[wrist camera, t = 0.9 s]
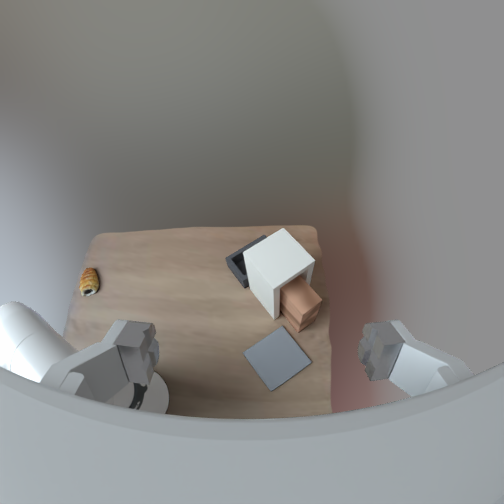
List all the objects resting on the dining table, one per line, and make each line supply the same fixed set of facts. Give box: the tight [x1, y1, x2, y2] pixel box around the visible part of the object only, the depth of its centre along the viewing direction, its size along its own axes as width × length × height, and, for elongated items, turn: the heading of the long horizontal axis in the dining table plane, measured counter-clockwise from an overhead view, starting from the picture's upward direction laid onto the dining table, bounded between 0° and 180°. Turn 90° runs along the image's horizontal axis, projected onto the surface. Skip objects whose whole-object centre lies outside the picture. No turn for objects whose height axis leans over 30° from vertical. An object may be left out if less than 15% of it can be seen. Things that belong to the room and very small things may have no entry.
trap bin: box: [226, 235, 267, 288], centre depth 70 cm, size 12×8×4 cm, turn 124°
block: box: [279, 275, 322, 333], centre depth 58 cm, size 5×10×12 cm, turn 34°
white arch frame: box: [243, 228, 315, 319], centre depth 60 cm, size 10×10×16 cm
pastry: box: [79, 268, 99, 296], centre depth 71 cm, size 9×7×4 cm
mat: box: [243, 326, 311, 391], centre depth 57 cm, size 11×11×1 cm
